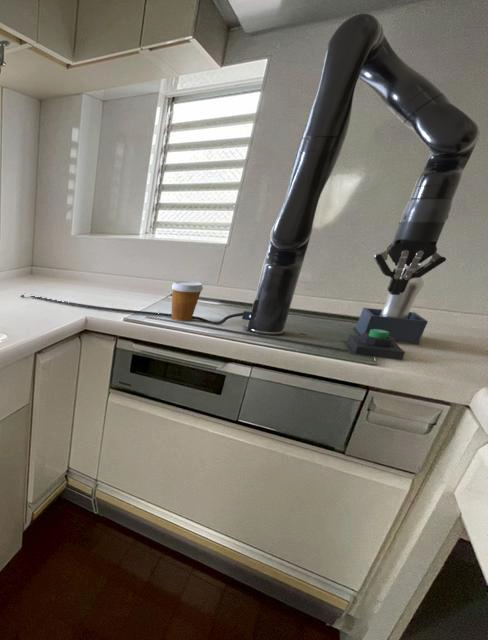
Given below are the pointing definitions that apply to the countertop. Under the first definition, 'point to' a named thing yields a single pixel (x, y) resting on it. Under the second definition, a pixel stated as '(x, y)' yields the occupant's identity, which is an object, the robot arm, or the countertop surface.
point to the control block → (375, 346)
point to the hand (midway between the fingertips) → (394, 294)
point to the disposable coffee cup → (184, 299)
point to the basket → (393, 325)
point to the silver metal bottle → (403, 299)
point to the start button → (378, 333)
